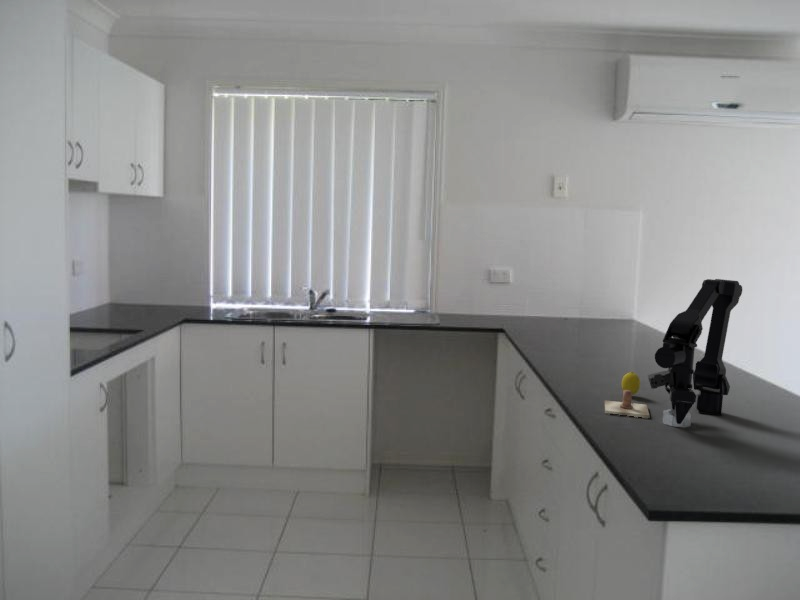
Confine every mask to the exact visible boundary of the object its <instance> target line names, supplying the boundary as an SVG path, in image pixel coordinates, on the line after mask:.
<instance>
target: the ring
mask: <svg viewBox="0 0 800 600" xmlns="http://www.w3.org/2000/svg"><path fill="white" fill-rule="evenodd" d="M662 412H663V414H662V423H663V424H664V425H667V426H670V427H676V428H688V427H689V428H690V427H691V424H692V423H691V422H692V414H691V412H688V413H687V415H686V416H685V418H684V420H683V421H682V423H681V424H677V422H676V412H675V410H674V409H672V408H669V409H668V408H667V409H663V411H662Z"/></svg>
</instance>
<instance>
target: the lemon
mask: <svg viewBox="0 0 800 600" xmlns="http://www.w3.org/2000/svg"><path fill="white" fill-rule="evenodd" d="M640 385H641V380H640V377H639V376H638V374H637V373H636V372H635V373H634V371H630V372H628V373H626V374H625V375H623V377H622V379H621V389H622V391H624V390H630V391H632V396H633V395H635V394H637V393H638V392H639V390H640V388H641V386H640Z"/></svg>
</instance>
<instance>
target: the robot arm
mask: <svg viewBox="0 0 800 600" xmlns="http://www.w3.org/2000/svg"><path fill="white" fill-rule="evenodd" d="M742 293H743V286H742V285H741V284H740V282H739V281H738V280H730V279H721V278H716V279H712V278H711V279H707V278H706V279H704V280H703V282H702V284H701V288H700V289H699V291H698V292H697V294H696V295H695V297H694V298H693V300H692V301H691V302H690V304H689V306H688V307H687V308H686V310H684V311H682V312H679V313H678V314H677V315H676V316H675V317H674V318H673V319H672V320H671V322H670V323H669V325H668V328H667V330H666V332H665V334H664V337H663V338H662V346H661V347H659V348H658V349H657V350H656V351H655V353H654V361H655V362H656V364H657V366H659V367H660V368H662V369H667V370H664V371H659V372H654V373H651V374H650V373H649V374H648V375H647V379H648V382H649V385H650V389H653V390H655V389H658V388H660V387H664V389H665V391H666V392H667V393H668V394H669V400H670V402H671V409H674V410H675V412H676V422H677V424H681V423H682V421H683V420H684V418H685V416H686V415H687V413H689V412H690V410H691V408H692V407H693V405H695V406H694V408H696V410H697V412H698V413H699V414H705V415H706V414H707V415H714V416H715V415H716V416H723V415H724V414H723V412H722V411H723V410H722V409H723V398H724V396H728V395H729V393H730V389H731V386H730V383H729V380H728V378H727V376H726V373H727V370H726V366H725V364H724V361H723V357H724V356H723V355H724V350H725V346H726V345H725V343H726V337H727V332H728V327H729V321H730V317H731V311H733V309H734V308H735V307H736V306H737V305H738V303H739V301H740V297H741V296H742ZM711 307H712V312H711V317H710V323H709V329H708V334H707V338H706V339H707V340H706V344H705V345H706V346H705V351H704V355H703V357H702V358H701V360H698V361H696V363H695V368H694V358H695V348H697V347H698V344H697V343H698V340H699V338H700V337H701V335H702V333H703V332H702V331H703V329H704V328H703V324H702V322H703V320H704V319H705V317H706V316H707V313H708V312H709V311H710V309H711ZM692 382H693V384H692ZM692 389H693V390H692ZM696 390H697V391H698V393H697V394H696V393H695V391H696Z"/></svg>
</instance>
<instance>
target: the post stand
mask: <svg viewBox="0 0 800 600" xmlns="http://www.w3.org/2000/svg"><path fill="white" fill-rule="evenodd" d="M622 391H623V390H622ZM632 397H633V395H632V391H630V390H624V391H623V393H622V401H613V400H604V413H613V414H619V415H618V416H620V415H627V416H626V417H629V416H634V417H633V418H638V417H642V418H641V419H648V418H649V419H650V413H649V409H648V405H647V404H644V403H643V404H642V403H635V402H633V403H632Z"/></svg>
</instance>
